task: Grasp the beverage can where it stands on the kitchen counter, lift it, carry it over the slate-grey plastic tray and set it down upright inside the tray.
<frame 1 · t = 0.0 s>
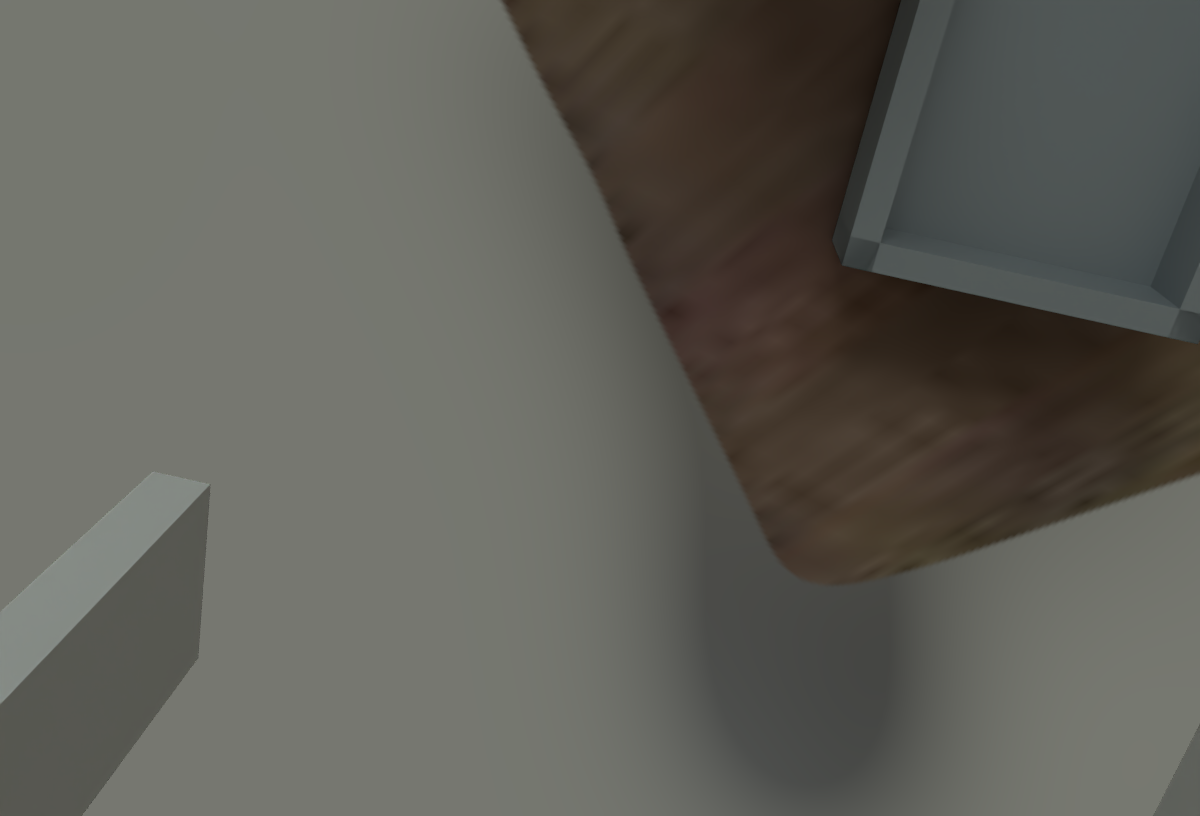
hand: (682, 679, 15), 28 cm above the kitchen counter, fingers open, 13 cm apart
tray: (1075, 48, 37), on the kitchen counter
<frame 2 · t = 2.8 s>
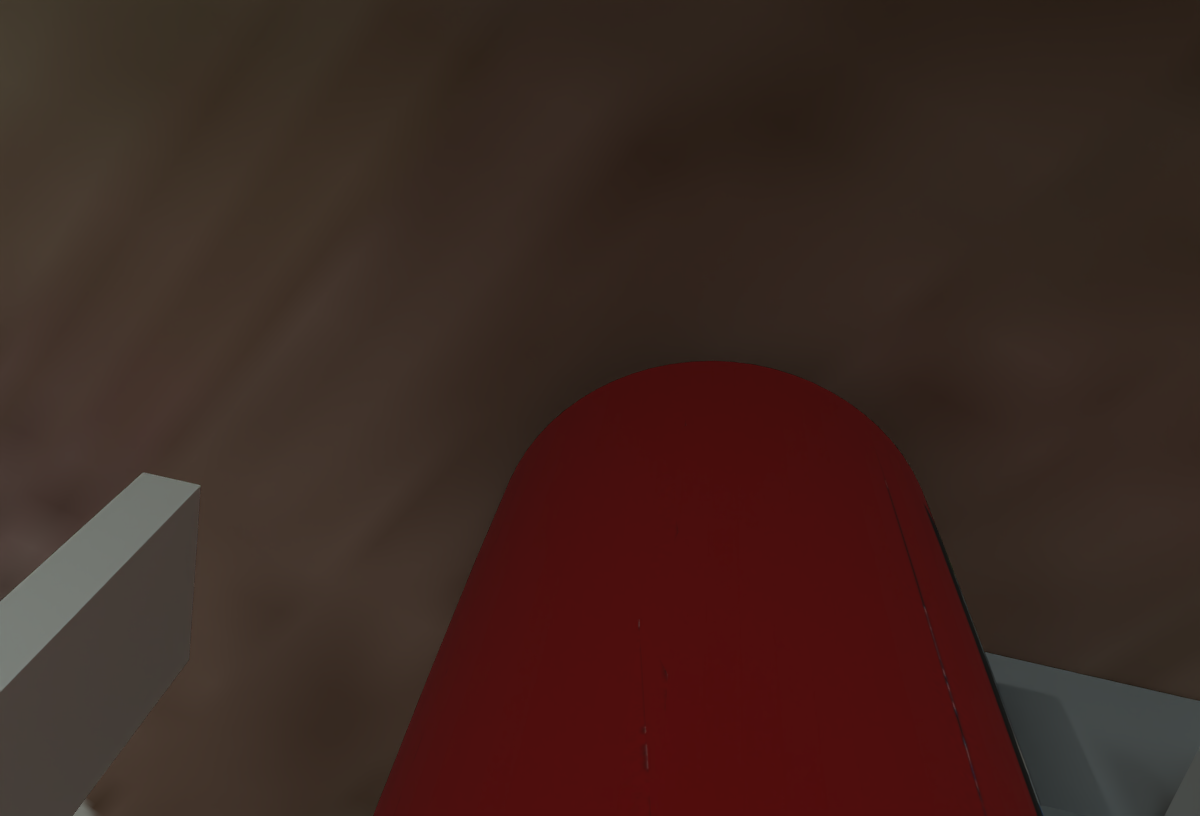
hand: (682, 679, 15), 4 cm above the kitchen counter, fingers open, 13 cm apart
beverage can: (711, 532, 18), on the kitchen counter
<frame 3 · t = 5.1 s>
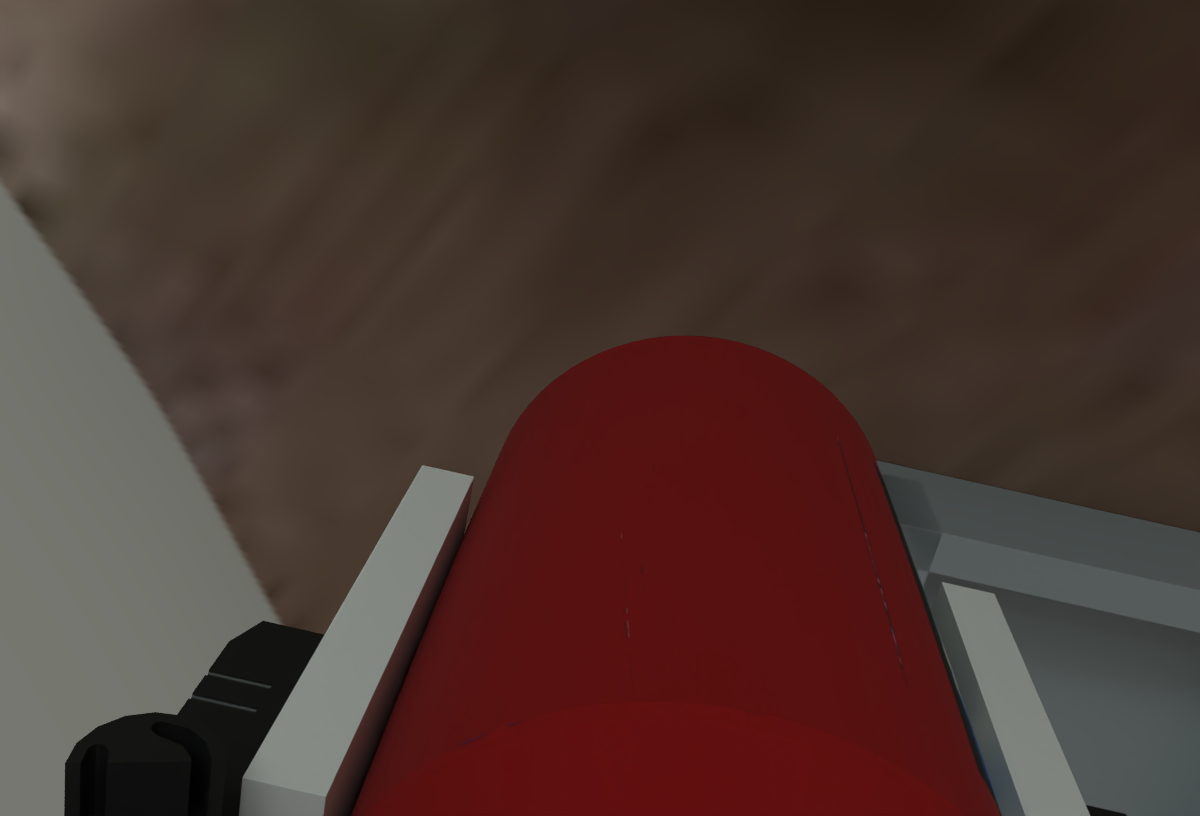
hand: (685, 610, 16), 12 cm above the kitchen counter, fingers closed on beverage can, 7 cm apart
tray: (1006, 769, 31), on the kitchen counter
beverage can: (685, 495, 20), point 8 cm above the kitchen counter, touching gripper
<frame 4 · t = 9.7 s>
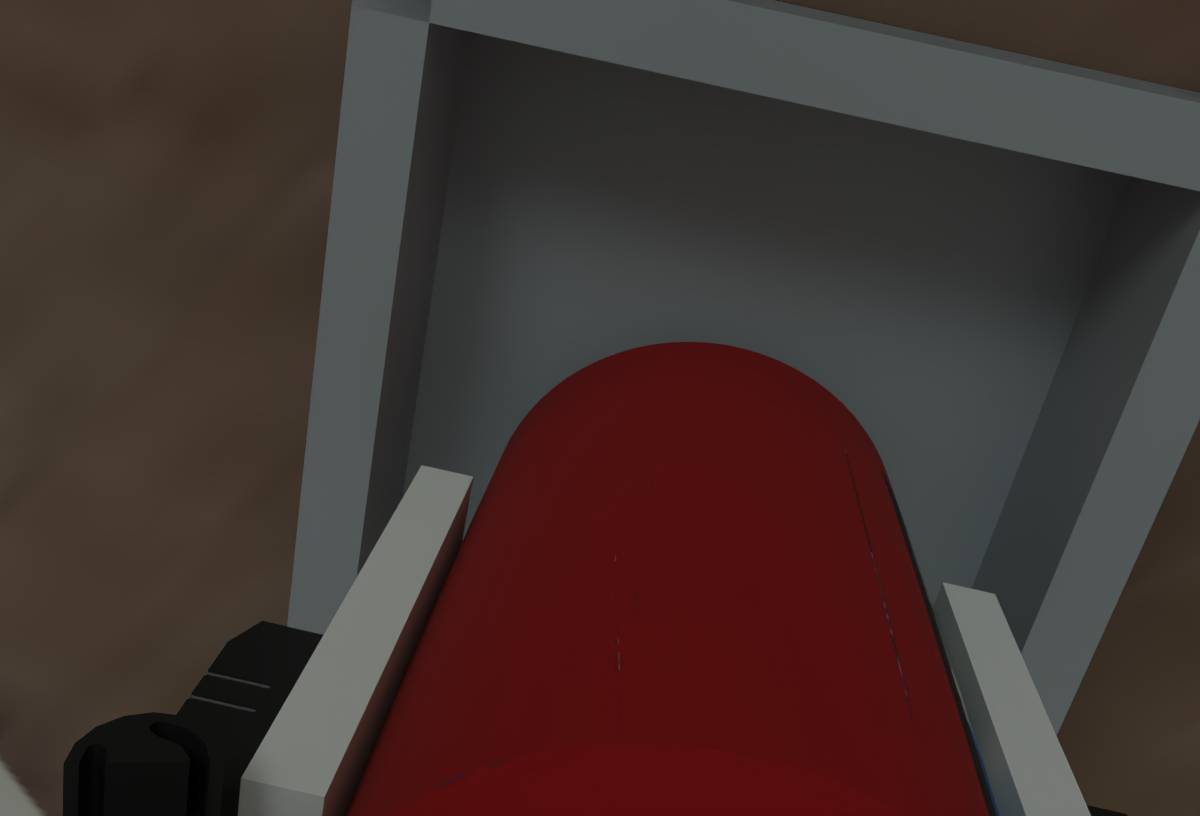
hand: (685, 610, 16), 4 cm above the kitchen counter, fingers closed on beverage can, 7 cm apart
tray: (696, 476, 20), on the kitchen counter
beverage can: (690, 503, 19), point 1 cm above the kitchen counter, touching gripper, tray
when the fingers open (4 cm above the kitchen counter, at t = 10.6 s): beverage can stays where it is, resting on tray.
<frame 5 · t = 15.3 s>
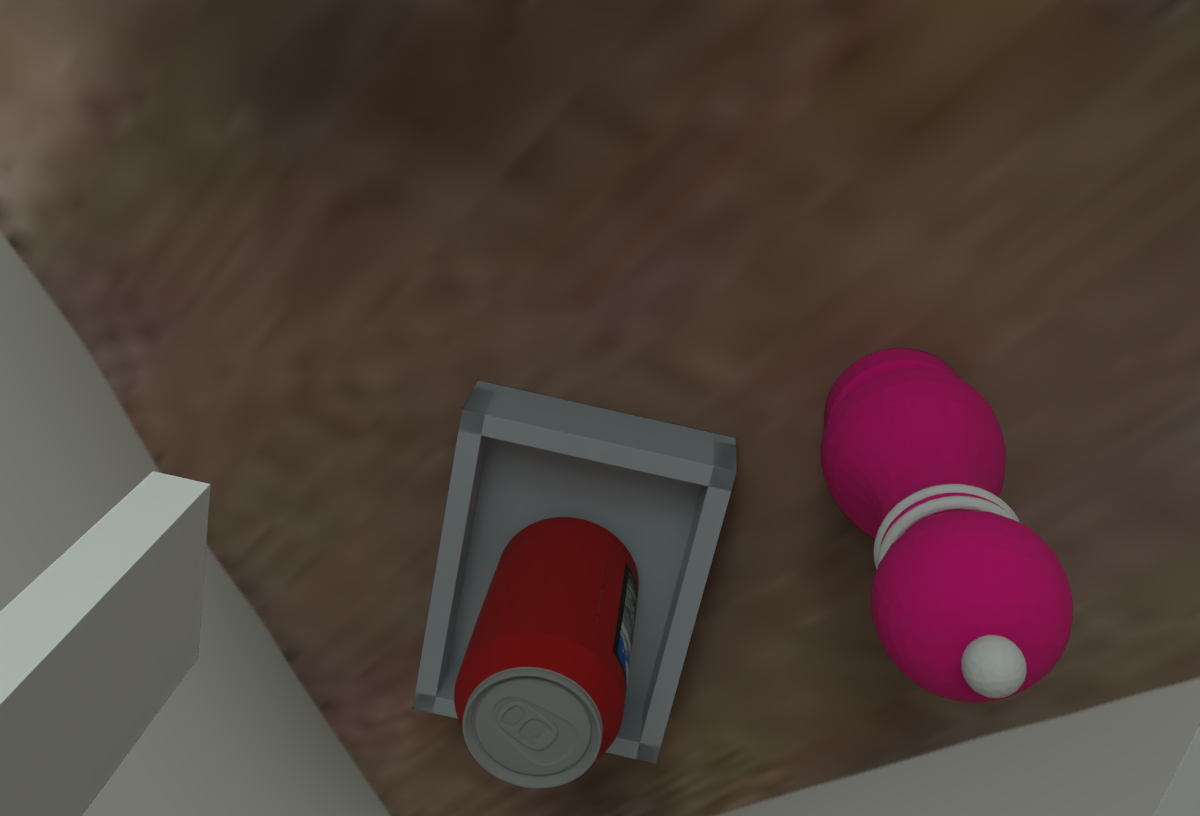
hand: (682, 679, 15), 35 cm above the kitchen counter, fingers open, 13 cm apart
pepper mill: (894, 412, 50), on the kitchen counter
tray: (573, 558, 54), on the kitchen counter
beverage can: (570, 569, 54), point 1 cm above the kitchen counter, touching tray
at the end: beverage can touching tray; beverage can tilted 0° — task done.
